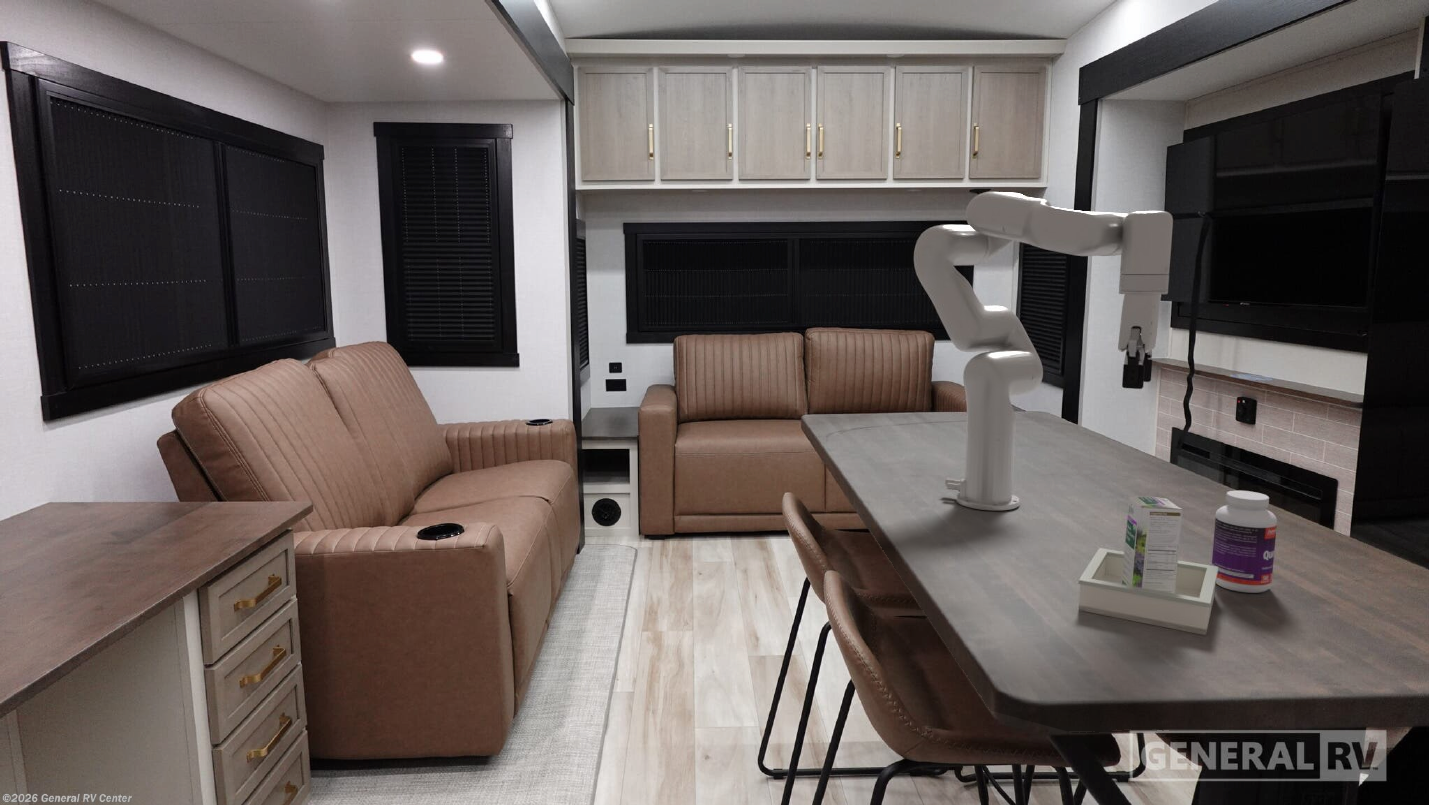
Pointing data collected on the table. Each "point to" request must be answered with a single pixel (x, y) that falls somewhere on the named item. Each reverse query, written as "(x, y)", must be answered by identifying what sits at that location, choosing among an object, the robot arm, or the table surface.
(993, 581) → the table surface
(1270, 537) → the pill bottle
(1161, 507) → the syrup box
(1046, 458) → the table surface
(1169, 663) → the table surface
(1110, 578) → the bin
